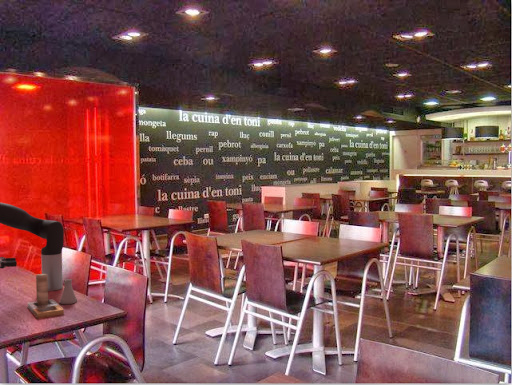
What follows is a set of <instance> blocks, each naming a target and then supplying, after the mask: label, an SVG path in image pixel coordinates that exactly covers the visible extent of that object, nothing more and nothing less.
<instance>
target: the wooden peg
mask: <svg viewBox="0 0 512 385" xmlns="http://www.w3.org/2000/svg"><path fill="white" fill-rule="evenodd" d="M35 283H36V284H35V286H36V288H35V289H36V301H37V306H41V305H48V300H49V291H48V276H47V274H42V273H40V274H39V273H38V274H36V275H35Z"/></svg>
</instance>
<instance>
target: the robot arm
mask: <svg viewBox="0 0 512 385" xmlns="http://www.w3.org/2000/svg"><path fill="white" fill-rule="evenodd" d="M0 224H1V225H4V226H7V227H10V228H13V229H17V230H20V231H26V232H28V233H30V234H32V235H35V236H37V237H39V238H41V239H44V240H46V245H45V246H44V247H42V248H41V250H40V258H41V274H47V276H48V292H52V291H58V290H62V289H64V287H63V286H64V285H63V284H64V281H63V248H64V239H65V238H64V237H65V236H64V235H65V233H64V230H65V229H64V226H63V223H61V222H60V221H57V220H49V219H42V218H40V217H39V218H38V217H35V216H33V215H31V214H30V213H29V212H27V211H26V210H24V209H22V208H20V207H18V206H15V205H12V204H10V203H4V202H0ZM17 262H18V261H17V258H16V257H4V256H0V269H5V268H12V267H15V268H16V267H17V266H18V265H17Z"/></svg>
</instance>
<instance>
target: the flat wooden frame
mask: <svg viewBox="0 0 512 385" xmlns="http://www.w3.org/2000/svg"><path fill="white" fill-rule="evenodd" d="M27 309H29V311H30V312H31V313H32V315H33V316H34V317H35V318H36V319H37V320H38V319H45V318H51V317H56V316H57V317H58V316H62V315H65V311H64V310H65V309H64V308H63V307H62V306H61V305H60V304H59V303H57V302H56V300H54V299H53V298H50V299H49V298H48V305H41V306H37V300H36V301H31V302H29V301H28V302H27Z"/></svg>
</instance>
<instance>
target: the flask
mask: <svg viewBox="0 0 512 385" xmlns="http://www.w3.org/2000/svg"><path fill="white" fill-rule="evenodd" d="M72 281H73V279H71V278H68V279H67V278H66V279H64V280H63V283H64V285H63V286H64V287H63V291H62V294H61V298H60V299H59V305H60V304H62V305H72V304H74V303H77V302H78V298H77V296H76V293H75V291H74V289H73V285H72Z"/></svg>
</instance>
